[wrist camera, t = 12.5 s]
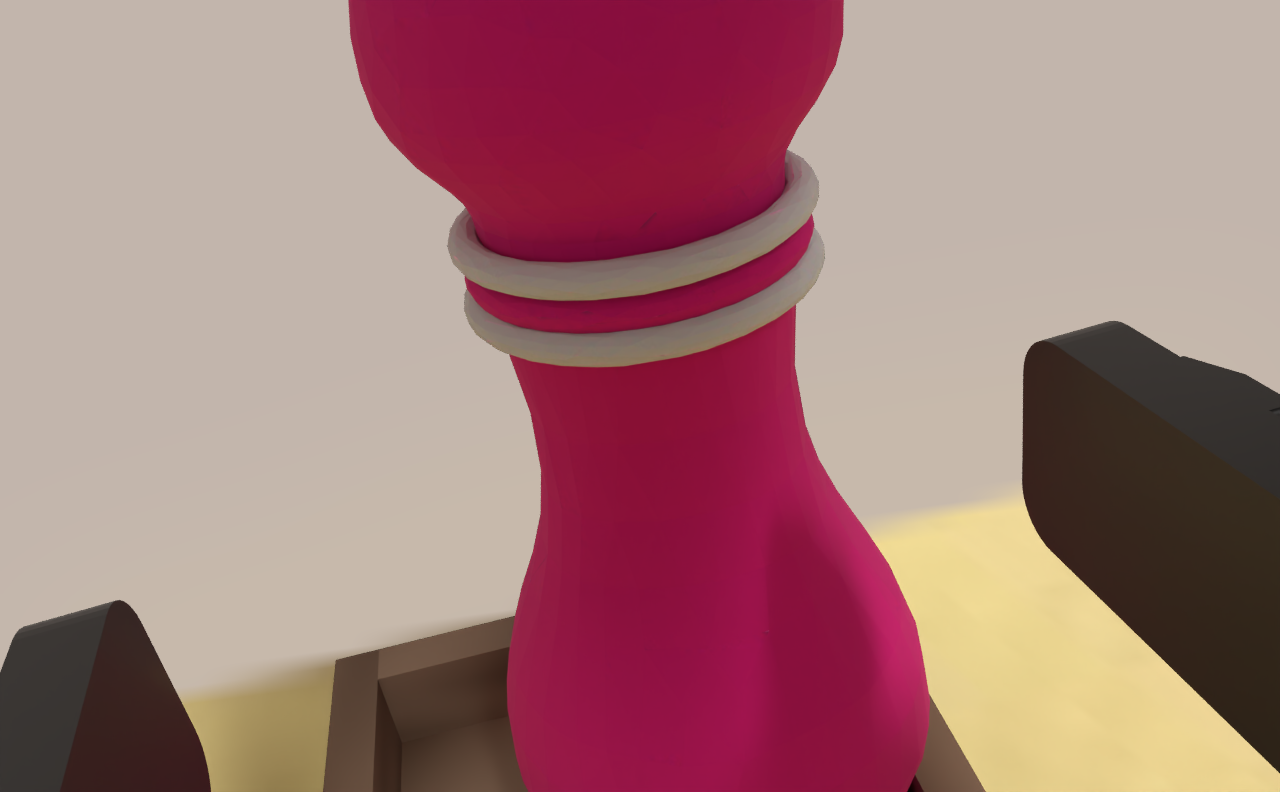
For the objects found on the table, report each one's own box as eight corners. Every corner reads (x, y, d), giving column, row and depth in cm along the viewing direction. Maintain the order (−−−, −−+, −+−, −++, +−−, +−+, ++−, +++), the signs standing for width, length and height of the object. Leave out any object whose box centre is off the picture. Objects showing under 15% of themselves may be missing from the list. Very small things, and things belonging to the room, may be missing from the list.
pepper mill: (567, 736, 25) (282, -305, 15) (889, 692, 24) (812, -410, 14) (552, 1065, 18) (43, -365, 9) (987, 1013, 18) (968, -552, 8)
